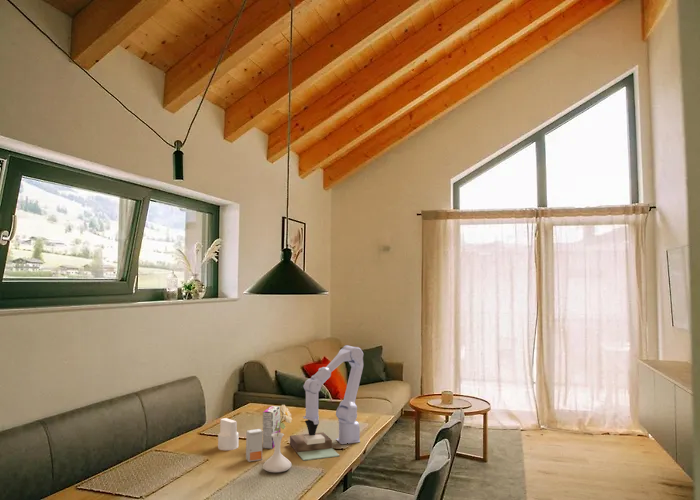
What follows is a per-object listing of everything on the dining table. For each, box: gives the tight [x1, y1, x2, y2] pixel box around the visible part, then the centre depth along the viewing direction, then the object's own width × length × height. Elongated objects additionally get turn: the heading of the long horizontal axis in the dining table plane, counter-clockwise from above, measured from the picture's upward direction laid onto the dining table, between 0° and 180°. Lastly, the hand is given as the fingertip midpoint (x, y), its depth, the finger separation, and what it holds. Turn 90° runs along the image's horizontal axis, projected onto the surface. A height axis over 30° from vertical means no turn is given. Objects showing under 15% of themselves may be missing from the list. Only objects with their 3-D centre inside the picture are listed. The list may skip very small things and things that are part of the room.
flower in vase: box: [262, 404, 293, 473], centre depth 212 cm, size 13×11×25 cm
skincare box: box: [245, 428, 263, 463], centre depth 223 cm, size 6×4×12 cm
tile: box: [304, 434, 325, 445], centre depth 234 cm, size 8×6×2 cm
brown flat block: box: [289, 431, 333, 453], centre depth 240 cm, size 16×13×4 cm
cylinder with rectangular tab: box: [217, 417, 239, 451], centre depth 240 cm, size 9×9×12 cm
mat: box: [296, 447, 341, 462], centre depth 229 cm, size 16×10×1 cm, turn 110°
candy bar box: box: [262, 405, 281, 450], centre depth 243 cm, size 11×5×16 cm, turn 168°
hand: (312, 436), depth 238 cm, fingers closed
